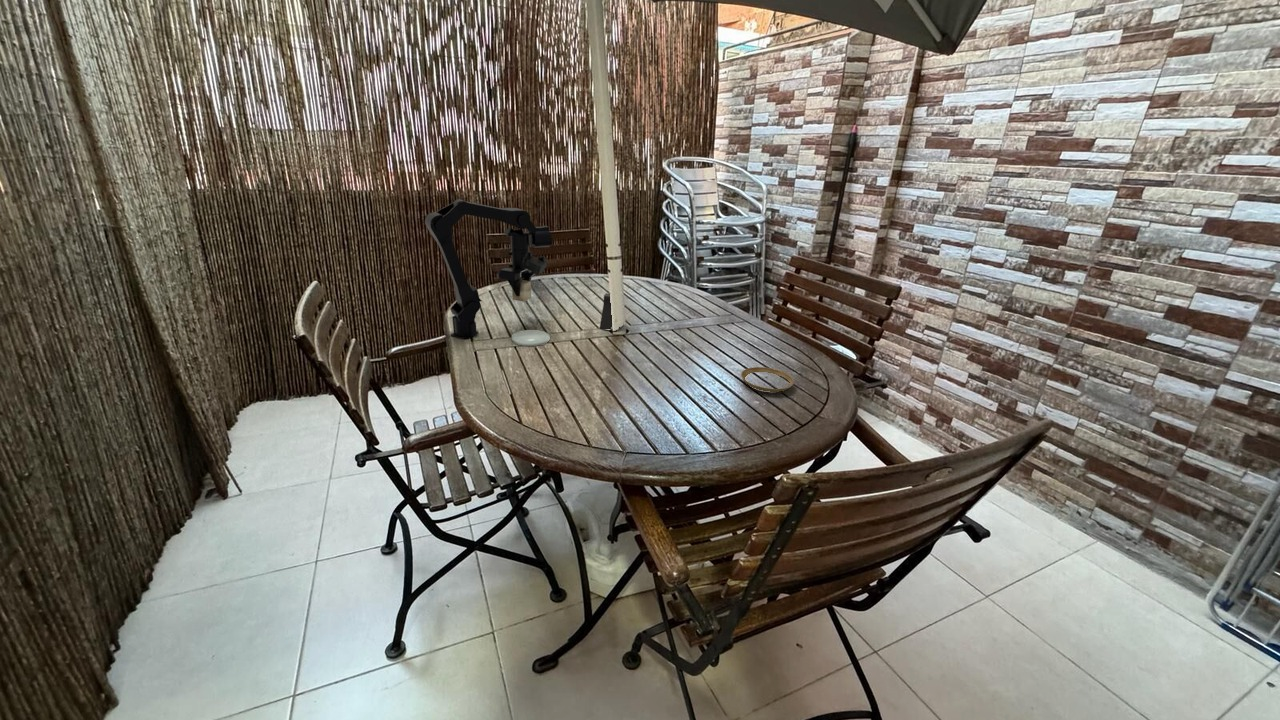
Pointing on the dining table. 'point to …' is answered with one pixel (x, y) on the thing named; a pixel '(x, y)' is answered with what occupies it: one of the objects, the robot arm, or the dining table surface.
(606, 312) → the phone stand
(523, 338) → the dish
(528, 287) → the birch block
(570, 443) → the dining table surface
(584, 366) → the dining table surface
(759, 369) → the tan ring
